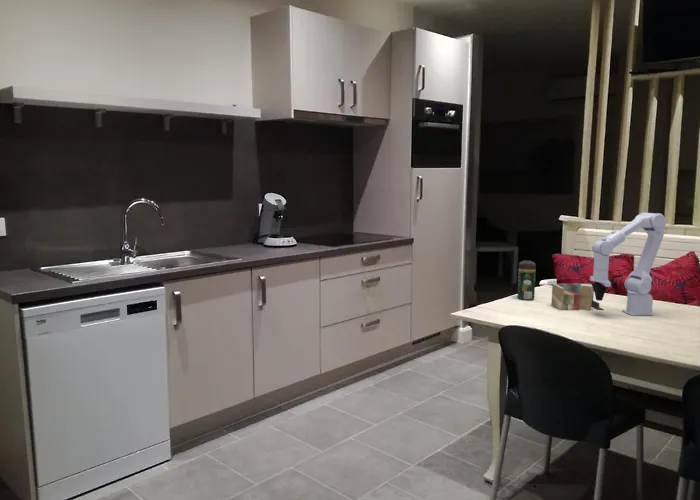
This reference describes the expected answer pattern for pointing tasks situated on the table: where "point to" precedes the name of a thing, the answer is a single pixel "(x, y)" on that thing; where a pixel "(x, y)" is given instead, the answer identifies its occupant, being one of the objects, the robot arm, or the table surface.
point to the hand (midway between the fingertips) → (599, 300)
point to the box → (585, 296)
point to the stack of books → (568, 297)
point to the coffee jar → (526, 280)
